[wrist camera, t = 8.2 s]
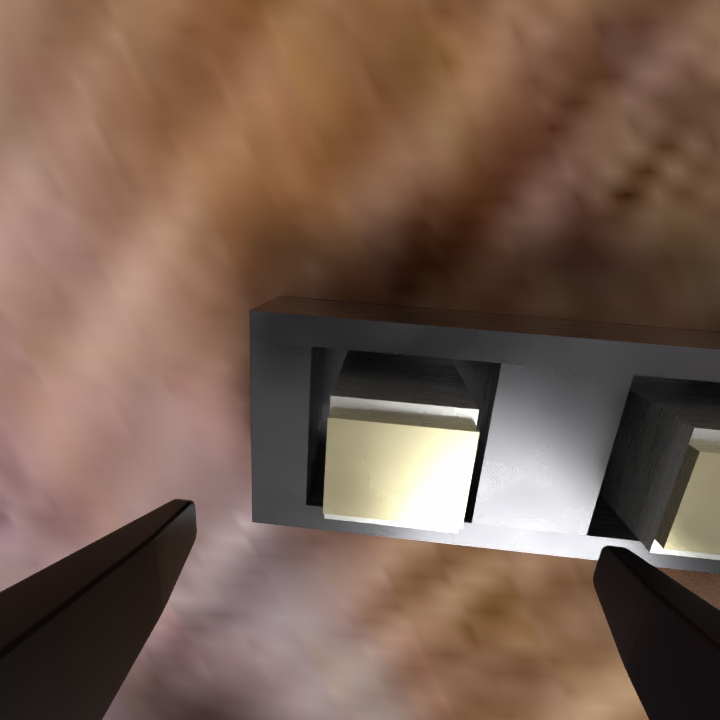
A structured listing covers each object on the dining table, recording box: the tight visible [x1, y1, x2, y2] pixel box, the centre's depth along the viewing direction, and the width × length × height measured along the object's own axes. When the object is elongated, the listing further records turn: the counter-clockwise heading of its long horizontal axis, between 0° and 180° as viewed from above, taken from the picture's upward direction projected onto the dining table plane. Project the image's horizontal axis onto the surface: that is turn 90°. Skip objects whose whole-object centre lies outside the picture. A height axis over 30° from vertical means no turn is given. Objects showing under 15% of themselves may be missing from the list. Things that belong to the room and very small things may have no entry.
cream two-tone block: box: [323, 353, 480, 533], centre depth 13 cm, size 4×4×5 cm
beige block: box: [599, 377, 720, 560], centre depth 13 cm, size 4×4×5 cm
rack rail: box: [250, 296, 720, 574], centre depth 14 cm, size 20×8×4 cm, turn 86°
